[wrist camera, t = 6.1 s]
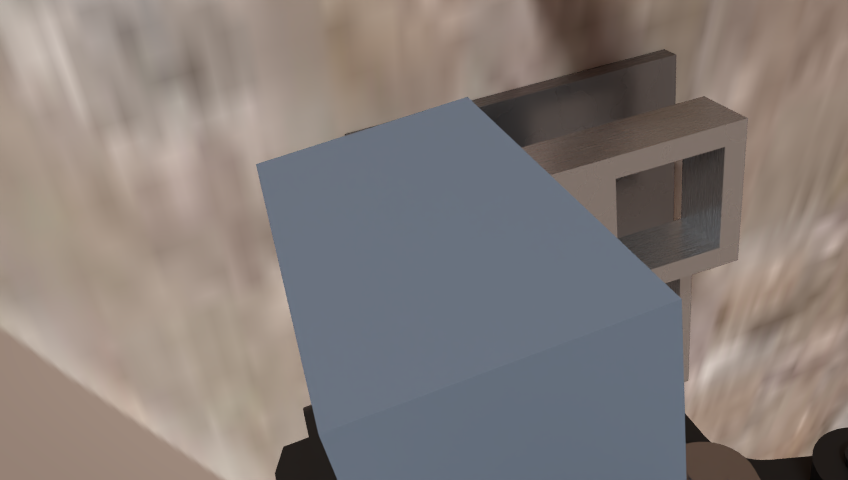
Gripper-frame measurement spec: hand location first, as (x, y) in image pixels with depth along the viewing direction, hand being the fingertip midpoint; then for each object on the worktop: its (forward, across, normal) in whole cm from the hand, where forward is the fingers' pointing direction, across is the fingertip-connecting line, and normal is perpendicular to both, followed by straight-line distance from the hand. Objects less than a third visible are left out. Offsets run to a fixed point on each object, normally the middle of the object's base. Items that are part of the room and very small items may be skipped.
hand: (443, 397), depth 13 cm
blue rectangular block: (+1, 0, 0) cm, 1 cm away
